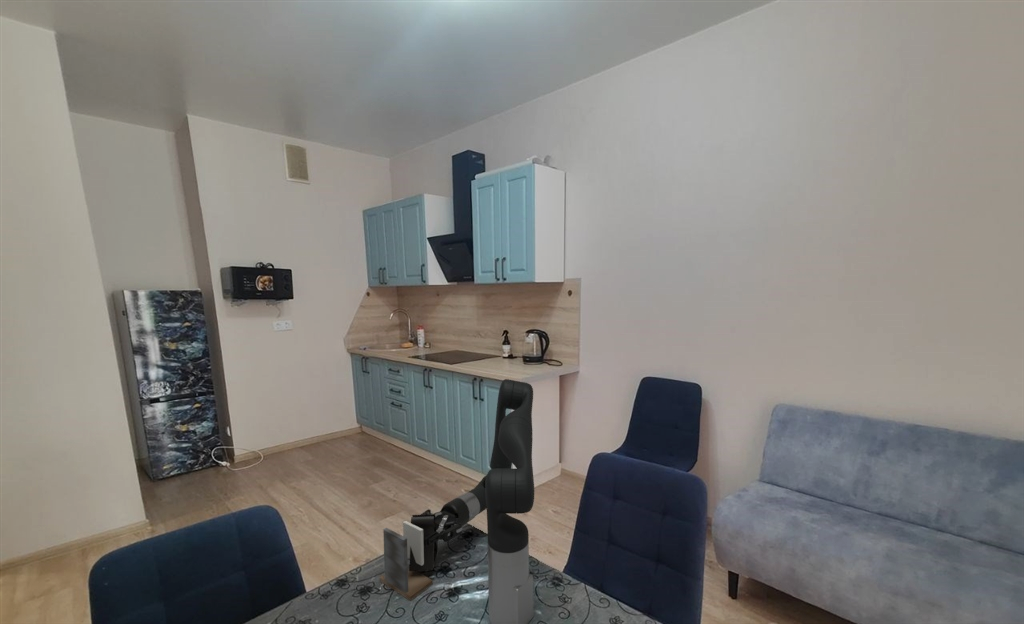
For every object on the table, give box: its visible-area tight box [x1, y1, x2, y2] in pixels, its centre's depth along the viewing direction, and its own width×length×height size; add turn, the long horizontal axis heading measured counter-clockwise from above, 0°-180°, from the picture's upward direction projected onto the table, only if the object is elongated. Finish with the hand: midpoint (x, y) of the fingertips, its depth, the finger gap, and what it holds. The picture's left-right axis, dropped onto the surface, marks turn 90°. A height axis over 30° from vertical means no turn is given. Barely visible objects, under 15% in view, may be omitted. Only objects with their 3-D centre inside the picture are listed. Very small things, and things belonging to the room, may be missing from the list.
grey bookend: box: [379, 527, 434, 602], centre depth 102 cm, size 12×7×14 cm, turn 54°
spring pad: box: [402, 520, 424, 566], centre depth 105 cm, size 9×1×12 cm, turn 53°
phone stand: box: [408, 513, 439, 572], centre depth 107 cm, size 9×6×12 cm, turn 1°
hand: (416, 538), depth 105 cm, fingers closed on phone stand, 6 cm apart
